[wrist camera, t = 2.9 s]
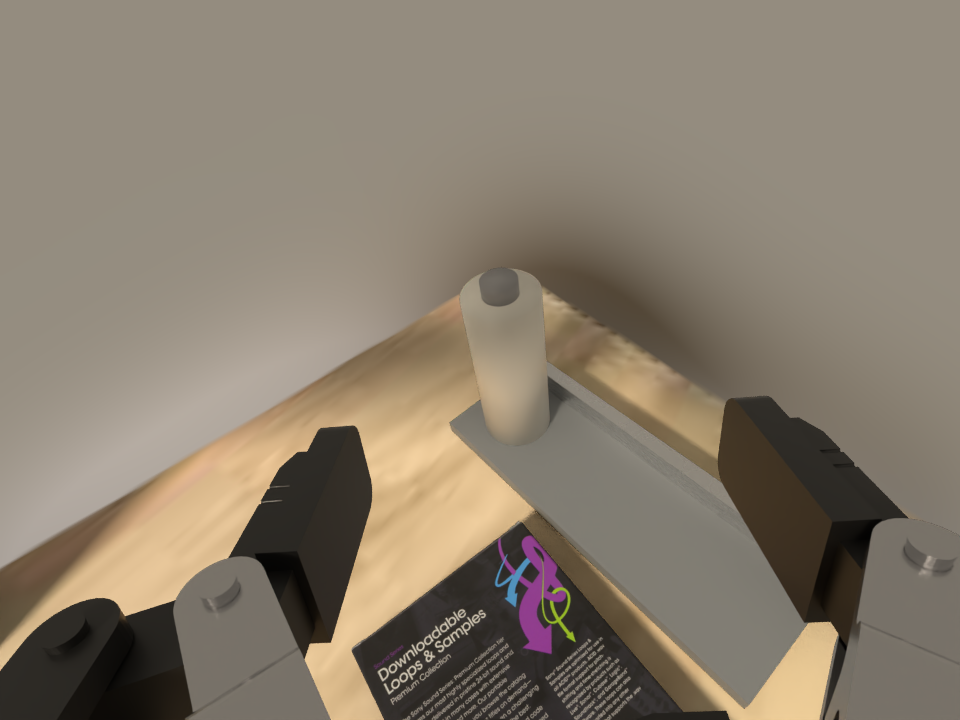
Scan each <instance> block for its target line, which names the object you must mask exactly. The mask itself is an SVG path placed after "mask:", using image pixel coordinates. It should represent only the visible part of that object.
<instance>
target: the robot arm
mask: <svg viewBox="0 0 960 720" xmlns="http://www.w3.org/2000/svg"><path fill="white" fill-rule="evenodd" d="M718 469H719V474H720V478H721V481H722V484H723V486H724V488H725V490H726V491H727V493H728V495H729V496H730V498H731V500H732V501H733V503H734V505H735V507H736V508H737V510H738V512H739V513H740V515H741V517H742V518H743V520H744V522H745V523H746V525H747V527H748V529H749V530H750V532H751V534H752V535H753V537H754V539H755V540H756V542H757V544H758V546H759V547H760V549H761V551H762V552H763V554H764V556H765V557H766V559H767V561H768V562H769V564H770V566H771V568H772V569H773V571H774V573H775V574H776V576H777V578H778V579H779V581H780V583H781V585H782V586H783V588H784V590H785V591H786V593H787V595H788V596H789V598H790V600H791V602H792V603H793V605H794V607H795V608H796V610H797V612H798V613H799V615H800V617H801V618H802V620H803V622H804V623H811V622H831V623H832V624H833V626H834V627H835V629H836V631H837V632H838V637H837V640H836V643H835V646H834V651H833V656H832V661H831V666H830V670H829V675H828V680H827V685H826V690H825V695H824V700H823V705H822V710H821V715H820V720H960V536H959V535H957V534H955V533H953V532H952V531H949V530H947V529H945V528H943V527H940V526H938V525H935V524H932V523H928V522H925V521H921V520H915V519H909V518H908V517H907V516H906V515H905V514H904V513H903V512H902V511H901V510H900V509H899V508H898V507H897V506H896V505H895V504H894V503H893V502H892V501H891V500H890V499H889V498H888V497H887V496H886V495H885V494H884V493H883V492H882V491H881V490H880V489H879V488H878V487H877V486H876V485H875V484H874V483H873V482H872V481H871V480H870V479H869V478H868V477H867V476H866V475H865V474H864V473H863V472H862V471H861V470H860V469H859V467H855V466H854V462H853V461H852V460H851V459H850V458H849V457H848V456H847V455H846V454H845V453H844V452H840V448H839V447H838V446H837V445H836V444H835V443H834V442H833V441H832V440H831V439H830V438H829V437H828V436H827V435H826V434H825V433H824V432H823V431H821V430H820V429H818V428H816V427H814V426H812V425H811V424H809V423H807V422H805V421H804V420H802V419H800V418H789V417H788V416H787V414H786V413H785V412H784V411H783V410H782V409H781V408H780V407H779V406H778V405H777V404H776V402H775V401H774V400H773V399H772V398H770V397H769V396H757V397H744V398H731V399H729V400H728V401H727V402H726V405H725V409H724V416H723V423H722V431H721V438H720V446H719V453H718ZM371 503H372V484H371V478H370V474H369V470H368V466H367V463H366V459H365V455H364V451H363V447H362V443H361V439H360V435H359V432H358V430H357V428H356V427H355V426H342V427H328V428H320V429H319V430H318V432H317V434H316V436H315V438H314V439H313V441H312V443H311V445H310V447H309V449H308V451H307V452H297V453H296V454H295V455H294V456H293V457H292V458H290V459H289V460H288V461H287V462H286V463H285V464H284V465H283V466H281V467H280V468H279V470H278V472H277V474H276V475H275V477H274V479H273V481H272V482H271V484H270V489H267V491H266V493H265V495H264V496H263V498H262V500H261V504H259V505H258V507H257V509H256V510H255V512H254V514H253V516H252V517H251V519H250V521H249V523H248V524H247V526H246V528H245V530H244V531H243V533H242V535H241V537H240V538H239V540H238V542H237V544H236V545H235V547H234V549H233V551H232V552H231V554H230V556H229V558H227V559H224V560H221V561H218V562H216V563H214V564H212V565H210V566H208V567H206V568H205V569H203V570H202V571H200V572H199V573H198V574H196V575H195V576H194V577H193V578H192V579H191V580H190V581H189V582H188V583H187V584H186V585H185V586H184V587H183V589H182V590H181V591H180V593H179V595H178V596H177V598H176V600H174V601H172V602H169V603H166V604H162V605H159V606H156V607H153V608H150V609H147V610H144V611H141V612H137V613H134V614H131V615H128V616H124V614H123V613H122V611H121V609H120V608H119V606H118V605H117V604H116V603H115V602H114V601H112V600H110V599H105V598H95V599H90V600H86V601H82V602H79V603H77V604H74V605H72V606H70V607H68V608H66V609H64V610H62V611H60V612H58V613H57V614H55V615H53V616H52V617H51V618H49V619H48V620H46V621H45V622H44V623H42V624H41V625H40V626H39V627H38V628H36V629H35V630H34V631H33V632H32V633H31V634H30V635H29V636H28V637H27V639H26V640H25V641H24V642H23V643H22V644H21V646H20V647H19V648H18V649H17V651H16V652H15V653H14V654H13V656H12V657H11V658H10V659H9V661H8V662H7V663H6V664H5V666H4V667H3V668H2V669H1V671H0V720H331V719H330V717H329V715H328V712H327V710H326V708H325V706H324V703H323V701H322V699H321V696H320V694H319V692H318V690H317V687H316V685H315V683H314V680H313V678H312V676H311V674H310V671H309V669H308V667H307V664H306V662H305V660H304V659H305V656H306V653H307V650H308V647H309V644H310V643H331V640H332V637H333V634H334V630H335V627H336V623H337V620H338V617H339V613H340V610H341V607H342V603H343V600H344V596H345V593H346V590H347V586H348V583H349V579H350V576H351V573H352V569H353V566H354V562H355V559H356V556H357V552H358V549H359V546H360V542H361V539H362V535H363V532H364V529H365V525H366V522H367V518H368V515H369V512H370V508H371ZM478 720H507V719H478ZM634 720H730V719H729V717H728V714H727V711H705V712H676V713H652V714H649V715H646V716H643V717H640V718H637V719H634Z"/></svg>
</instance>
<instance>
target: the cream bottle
mask: <svg viewBox="0 0 960 720" xmlns="http://www.w3.org/2000/svg"><path fill="white" fill-rule="evenodd" d="M459 300H460V306H461V310H462V315H463V320H464V324H465V329H466V334H467V339H468V343H469V348H470V353H471V357H472V362H473V367H474V371H475V376H476V381H477V385H478V390H479V395H480V399H481V404H482V409H483V413H484V418H485V423H486V427H487V430H488V432H489V433H490V435H491V436H492V437H493V438H495V439H496V440H497V441H499V442H501V443H504V444H507V445H513V446H520V445H526V444H529V443H532V442H534V441H536V440H537V439H539V438H540V437H541V436H542V435H543V434H544V433H545V432H546V430H547V428H548V426H549V423H550V411H549V394H548V378H547V362H546V346H545V330H544V314H543V298H542V287H541V285H540V283H539V281H538V280H537V279H536V278H535V277H534V276H533V275H531V274H529V273H527V272H525V271H522V270H517V269H509V268H494V269H491V270H489V271H486V272H484V273H481V274H479V275H477V276H475V277H474V278H472V279H471V280H470V281H468V282H467V284H466V285H465V286H464V287H463V289H462V290H461V293H460V298H459Z"/></svg>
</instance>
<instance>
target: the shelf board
mask: <svg viewBox="0 0 960 720" xmlns="http://www.w3.org/2000/svg"><path fill="white" fill-rule="evenodd" d="M548 394H549V411H550V423H549V426H548V428H547V430H546V432H545V433H544V434H543V435H542V436H541V437H540V438H539V439H537V440H536V441H534V442H532V443H529V444H526V445H520V446H513V445H507V444H504V443H501V442H499V441H497V440H496V439H495V438H493V437H492V436H491V435H490V433H489V432H488V430H487V427H486V423H485V418H484V413H483V409H482V404H481V399H480V400H479V401H478V402H476V403H475V404H474V405H472V406H471V407H470V408H468V409H467V410H466V411H464V412H463V413H462V414H460V415H459V416H458V417H456V418H455V419H454V420H452V421H451V422H450V426H451V429H452V431H453V432H454V433H455V434H456V435H457V436H458V437H459V438H460V439H461V440H462V441H463V442H464V443H465V444H466V445H468V446H469V447H470V448H471V449H472V450H473V451H474V452H475V453H476V454H477V455H478V456H479V457H480V458H481V459H482V460H483V461H484V462H485V463H486V464H487V465H489V466H490V467H491V468H492V469H493V470H494V471H495V472H496V473H497V474H498V475H499V476H500V477H501V478H502V479H503V480H504V481H505V482H506V483H507V484H509V485H510V486H511V487H512V488H513V489H514V490H515V491H516V492H517V493H518V494H519V495H520V496H521V497H522V498H523V499H524V500H525V501H526V502H527V503H528V504H530V505H531V506H532V507H533V508H534V509H535V510H536V511H537V512H538V513H539V514H540V515H541V516H542V517H543V518H544V519H545V520H546V521H547V522H548V523H549V524H551V525H552V526H553V527H554V528H555V529H556V530H557V531H558V532H559V533H560V534H561V535H562V536H563V537H564V538H565V539H566V540H567V541H568V542H569V543H570V544H572V545H573V546H574V547H575V548H576V549H577V550H578V551H579V552H580V553H581V554H582V555H583V556H584V557H585V558H586V559H587V560H588V561H589V562H590V563H591V564H593V565H594V566H595V567H596V568H597V569H598V570H599V571H600V572H601V573H602V574H603V575H604V576H605V577H606V578H607V579H608V580H609V581H610V582H611V583H612V584H614V585H615V586H616V587H617V588H618V589H619V590H620V591H621V592H622V593H623V594H624V595H625V596H626V597H627V598H628V599H629V600H630V601H631V602H632V603H633V604H635V605H636V606H637V607H638V608H639V609H640V610H641V611H642V612H643V613H644V614H645V615H646V616H647V617H648V618H649V619H650V620H651V621H652V622H653V623H654V624H656V625H657V626H658V627H659V628H660V629H661V630H662V631H663V632H664V633H665V634H666V635H667V636H668V637H669V638H670V639H671V640H672V641H673V642H674V643H675V644H677V645H678V646H679V647H680V648H681V649H682V650H683V651H684V652H685V653H686V654H687V655H688V656H689V657H690V658H691V659H692V660H693V661H694V662H695V663H696V664H698V665H699V666H700V667H701V668H702V669H703V670H704V671H705V672H706V673H707V674H708V675H709V676H710V677H711V678H712V679H713V680H714V681H715V682H716V683H717V684H719V685H720V686H721V687H722V688H723V689H724V690H725V691H726V692H727V693H728V694H729V695H730V696H731V697H732V698H733V699H734V700H735V701H736V702H737V703H738V704H740V705H741V706H742V707H743V708H744V709H745V708H746V707H747V706H748V705H749V704H750V703H751V702H752V700H753V699H754V698H755V696H756V695H757V693H758V692H759V691H760V689H761V688H762V686H763V685H764V684H765V682H766V681H767V680H768V678H769V677H770V675H771V674H772V673H773V671H774V670H775V668H776V667H777V666H778V664H779V663H780V662H781V660H782V659H783V657H784V656H785V655H786V653H787V652H788V650H789V649H790V648H791V646H792V645H793V644H794V642H795V641H796V639H797V638H798V637H799V635H800V634H801V632H802V631H803V630H804V628H805V627H806V626H807V624H808V623H804V622H803V620H802V618H801V617H800V615H799V613H798V612H797V610H796V608H795V607H794V605H793V603H792V602H791V600H790V598H789V596H788V595H787V593H786V591H785V590H784V588H783V586H782V585H781V583H780V581H779V579H778V578H777V576H776V574H775V573H774V571H773V569H772V568H771V566H770V564H769V562H768V561H767V559H766V557H765V556H764V554H763V552H762V551H761V549H760V547H759V546H758V545H757V544H755V543H754V542H753V541H751V540H750V539H749V538H747V537H746V536H745V535H743V534H742V533H740V532H739V531H738V530H736V529H735V528H734V527H732V526H731V525H730V524H728V523H727V522H726V521H724V520H723V519H722V518H720V517H719V516H718V515H716V514H715V513H713V512H712V511H711V510H709V509H708V508H707V507H705V506H704V505H703V504H701V503H700V502H699V501H697V500H696V499H695V498H693V497H692V496H690V495H689V494H688V493H686V492H685V491H684V490H682V489H681V488H680V487H678V486H677V485H676V484H674V483H673V482H672V481H670V480H669V479H668V478H666V477H665V476H663V475H662V474H661V473H659V472H658V471H657V470H655V469H654V468H653V467H651V466H650V465H649V464H647V463H646V462H645V461H643V460H642V459H641V458H639V457H638V456H636V455H635V454H634V453H632V452H631V451H630V450H628V449H627V448H626V447H624V446H623V445H622V444H620V443H619V442H618V441H616V440H615V439H614V438H612V437H611V436H609V435H608V434H607V433H605V432H604V431H603V430H601V429H600V428H599V427H597V426H596V425H595V424H593V423H592V422H591V421H589V420H588V419H587V418H585V417H584V416H582V415H581V414H580V413H578V412H577V411H576V410H574V409H573V408H572V407H570V406H569V405H568V404H566V403H565V402H564V401H562V400H561V399H560V398H558V397H557V396H555V395H554V394H553V393H551V392H550V391H549V390H548Z"/></svg>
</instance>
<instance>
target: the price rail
mask: <svg viewBox="0 0 960 720" xmlns="http://www.w3.org/2000/svg"><path fill="white" fill-rule="evenodd" d="M546 362H547V378H548V390H549V391H550V392H551V393H553V394H554V395H555V396H557V397H558V398H560V399H561V400H562V401H564V402H565V403H566V404H568V405H569V406H570V407H572V408H573V409H574V410H576V411H577V412H578V413H580V414H581V415H582V416H584V417H585V418H587V419H588V420H589V421H591V422H592V423H593V424H595V425H596V426H597V427H599V428H600V429H601V430H603V431H604V432H605V433H607V434H608V435H609V436H611V437H612V438H614V439H615V440H616V441H618V442H619V443H620V444H622V445H623V446H624V447H626V448H627V449H628V450H630V451H631V452H632V453H634V454H635V455H636V456H638V457H639V458H641V459H642V460H643V461H645V462H646V463H647V464H649V465H650V466H651V467H653V468H654V469H655V470H657V471H658V472H659V473H661V474H662V475H663V476H665V477H666V478H668V479H669V480H670V481H672V482H673V483H674V484H676V485H677V486H678V487H680V488H681V489H682V490H684V491H685V492H686V493H688V494H689V495H690V496H692V497H693V498H695V499H696V500H697V501H699V502H700V503H701V504H703V505H704V506H705V507H707V508H708V509H709V510H711V511H712V512H713V513H715V514H716V515H718V516H719V517H720V518H722V519H723V520H724V521H726V522H727V523H728V524H730V525H731V526H732V527H734V528H735V529H736V530H738V531H739V532H740V533H742V534H743V535H745V536H746V537H747V538H749V539H750V540H751V541H753V542H754V543H755V544H757V542H756V540H755V539H754V537H753V535H752V534H751V532H750V530H749V529H748V527H747V525H746V523H745V522H744V520H743V518H742V517H741V515H740V513H739V512H738V510H737V508H736V507H735V505H734V503H733V501H732V500H731V498H730V496H729V495H728V493H727V491H726V490H725V488H724V486H723V484H722V482H720V481H719V480H717V479H716V478H714V477H713V476H711V475H710V474H709V473H707V472H706V471H704V470H703V469H701V468H700V467H699V466H697V465H696V464H694V463H693V462H691V461H690V460H688V459H687V458H686V457H684V456H683V455H681V454H680V453H678V452H677V451H676V450H674V449H673V448H671V447H670V446H668V445H667V444H665V443H664V442H663V441H661V440H660V439H658V438H657V437H655V436H654V435H652V434H651V433H650V432H648V431H647V430H645V429H644V428H642V427H641V426H640V425H638V424H637V423H635V422H634V421H632V420H631V419H629V418H628V417H627V416H625V415H624V414H622V413H621V412H619V411H618V410H617V409H615V408H614V407H612V406H611V405H609V404H608V403H606V402H605V401H604V400H602V399H601V398H599V397H598V396H596V395H595V394H594V393H592V392H591V391H589V390H588V389H586V388H585V387H583V386H582V385H581V384H579V383H578V382H576V381H575V380H573V379H572V378H571V377H569V376H568V375H566V374H565V373H563V372H562V371H560V370H559V369H558V368H556V367H555V366H553V365H552V364H550V363H549V362H548V361H546ZM757 545H758V544H757Z"/></svg>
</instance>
